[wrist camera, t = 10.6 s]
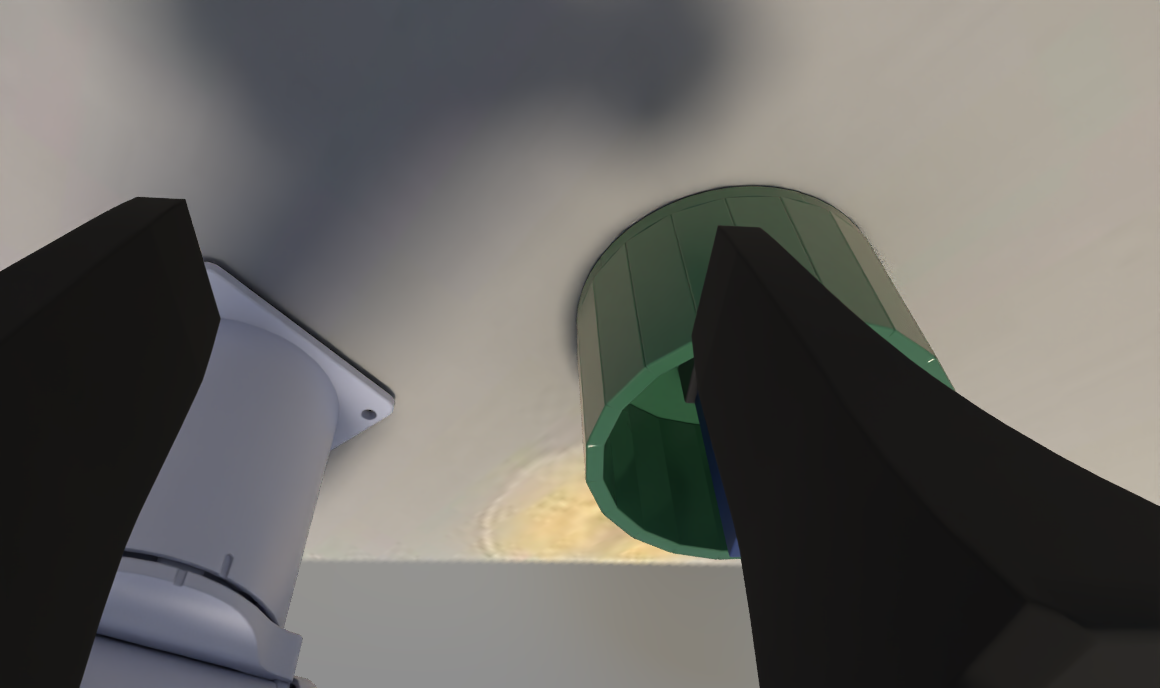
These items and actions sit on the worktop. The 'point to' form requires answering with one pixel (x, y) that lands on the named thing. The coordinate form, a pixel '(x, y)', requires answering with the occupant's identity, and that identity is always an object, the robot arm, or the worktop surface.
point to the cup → (663, 342)
